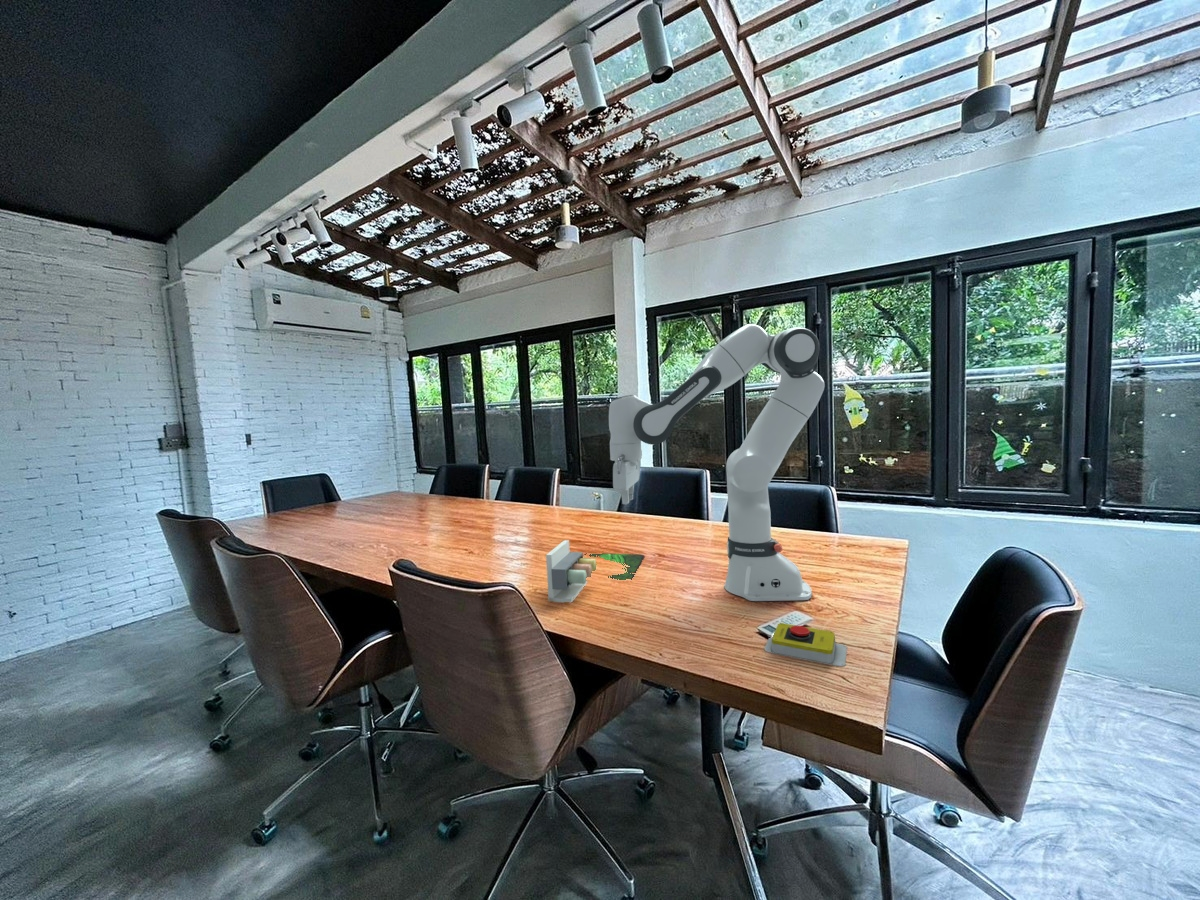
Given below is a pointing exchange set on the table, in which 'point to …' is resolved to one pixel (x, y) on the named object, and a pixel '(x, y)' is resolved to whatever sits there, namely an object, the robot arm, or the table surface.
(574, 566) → the terracotta button
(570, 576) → the sage button
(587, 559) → the mustard button
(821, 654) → the emergency button
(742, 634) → the table surface
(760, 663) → the table surface
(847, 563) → the table surface
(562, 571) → the console
